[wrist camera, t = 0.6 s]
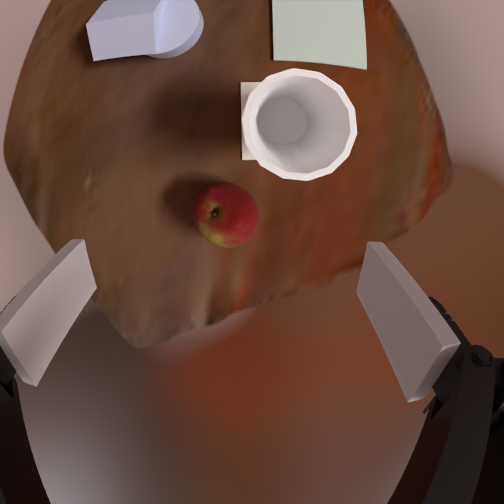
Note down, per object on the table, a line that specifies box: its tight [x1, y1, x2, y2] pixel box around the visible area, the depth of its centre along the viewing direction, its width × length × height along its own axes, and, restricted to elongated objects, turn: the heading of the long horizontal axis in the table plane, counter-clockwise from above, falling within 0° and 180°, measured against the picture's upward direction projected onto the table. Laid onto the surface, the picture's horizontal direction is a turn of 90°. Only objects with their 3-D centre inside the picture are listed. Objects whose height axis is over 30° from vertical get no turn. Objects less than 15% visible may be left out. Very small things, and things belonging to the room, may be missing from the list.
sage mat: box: [272, 0, 367, 70], centre depth 26 cm, size 12×12×1 cm
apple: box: [193, 182, 258, 248], centre depth 34 cm, size 8×8×8 cm
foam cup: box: [242, 68, 357, 181], centre depth 27 cm, size 10×9×13 cm
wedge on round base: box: [86, 0, 204, 61], centre depth 23 cm, size 9×7×13 cm
